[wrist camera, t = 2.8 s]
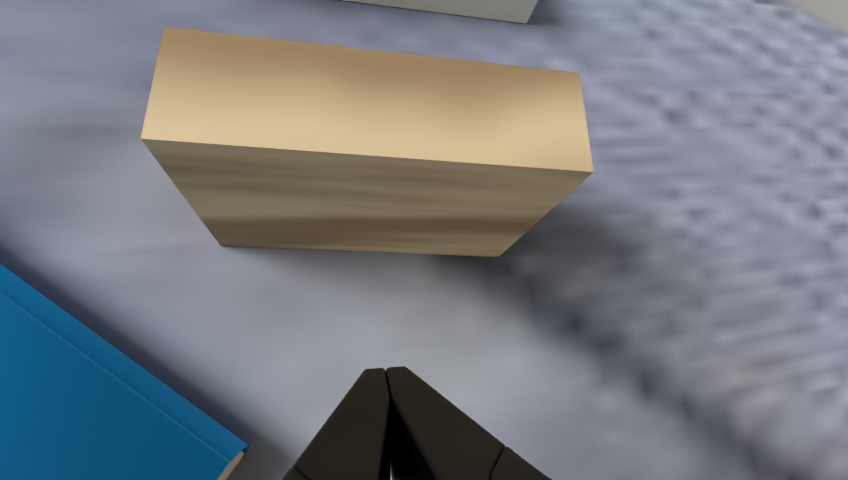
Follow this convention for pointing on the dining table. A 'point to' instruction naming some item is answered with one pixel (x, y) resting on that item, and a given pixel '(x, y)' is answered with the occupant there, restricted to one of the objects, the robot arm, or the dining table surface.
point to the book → (92, 405)
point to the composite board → (468, 7)
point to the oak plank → (362, 144)
